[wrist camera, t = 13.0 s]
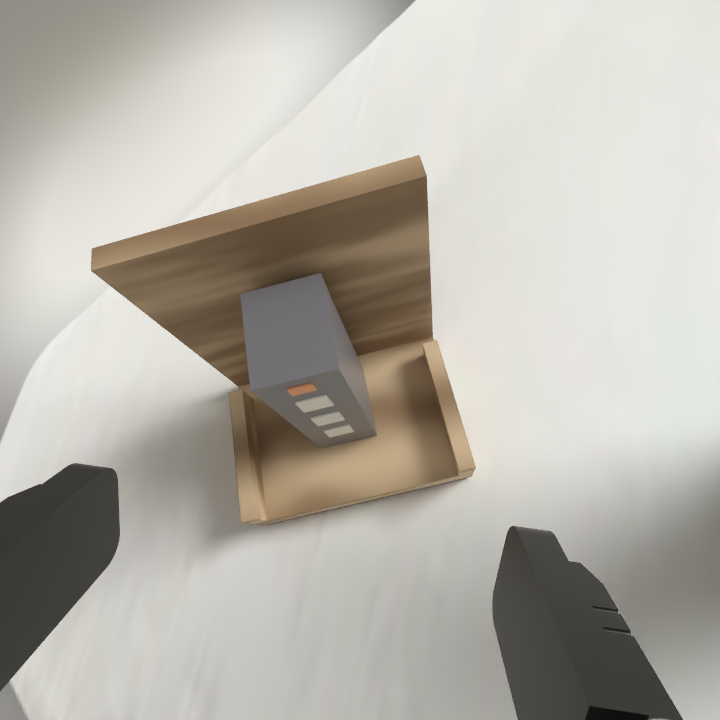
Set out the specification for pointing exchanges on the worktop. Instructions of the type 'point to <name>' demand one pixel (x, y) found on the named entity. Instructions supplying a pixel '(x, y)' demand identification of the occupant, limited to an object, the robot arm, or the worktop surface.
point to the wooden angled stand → (358, 314)
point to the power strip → (306, 361)
